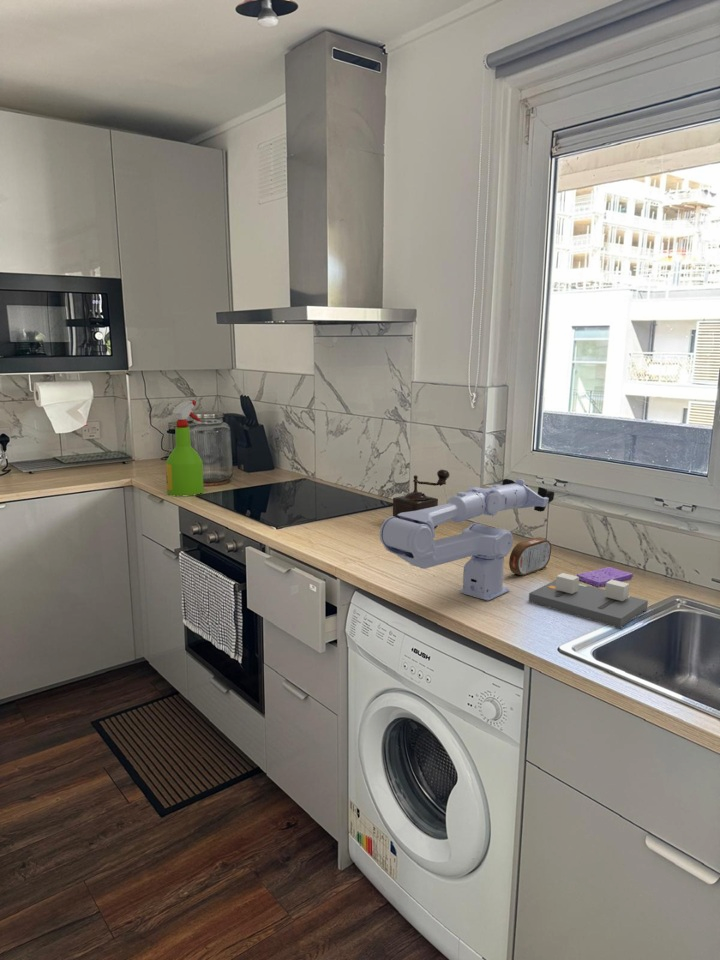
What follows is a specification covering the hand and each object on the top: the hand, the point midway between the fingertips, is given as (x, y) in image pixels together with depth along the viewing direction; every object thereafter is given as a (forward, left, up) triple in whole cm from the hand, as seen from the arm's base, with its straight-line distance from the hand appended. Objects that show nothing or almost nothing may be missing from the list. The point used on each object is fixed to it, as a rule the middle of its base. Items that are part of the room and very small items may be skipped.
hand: (539, 492), depth 171 cm
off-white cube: (-12, -15, -19) cm, 26 cm away
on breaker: (-8, -25, -19) cm, 32 cm away
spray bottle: (-7, +145, -21) cm, 147 cm away
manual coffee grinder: (+16, +49, -21) cm, 56 cm away
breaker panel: (-12, -20, -21) cm, 31 cm away
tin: (0, +1, -21) cm, 21 cm away
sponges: (+8, -15, -22) cm, 27 cm away
